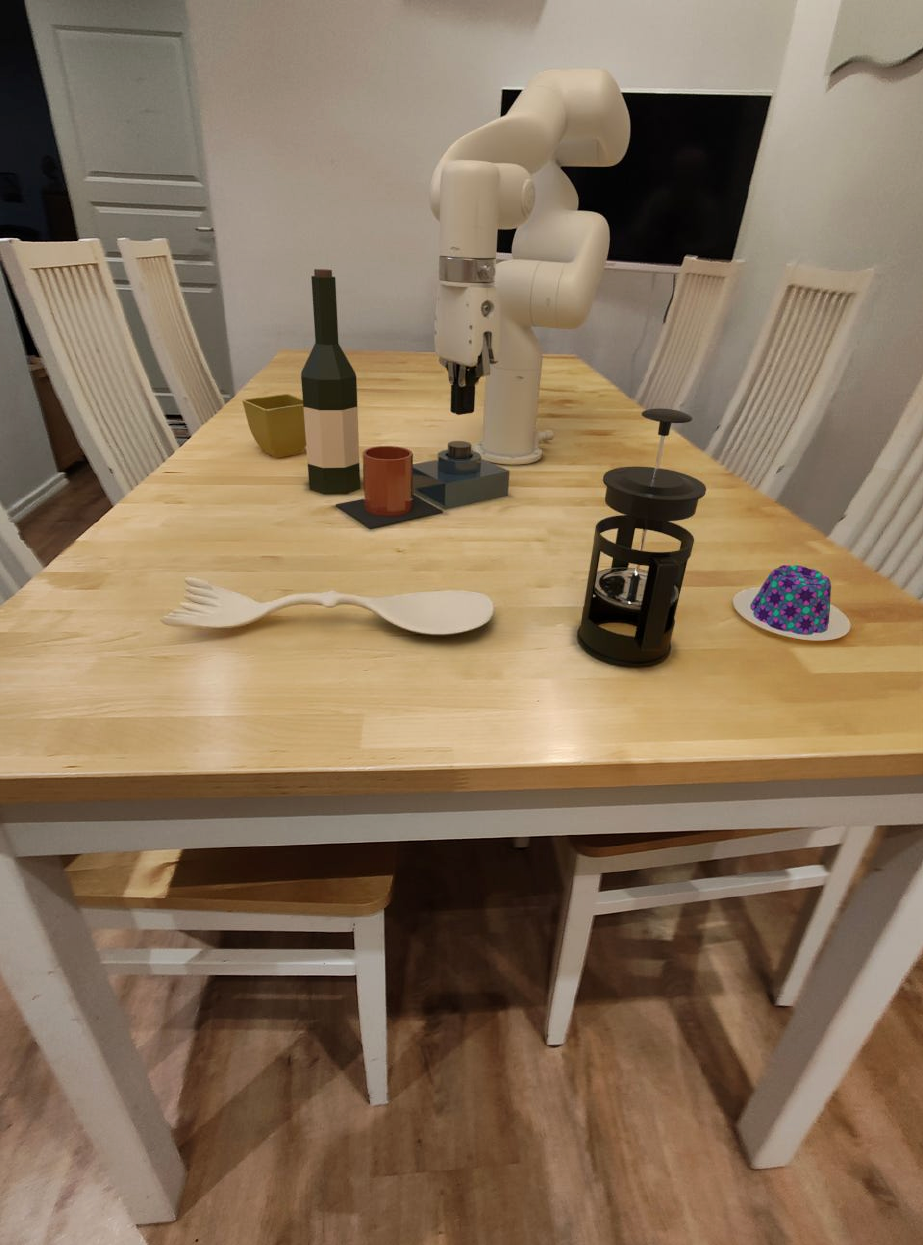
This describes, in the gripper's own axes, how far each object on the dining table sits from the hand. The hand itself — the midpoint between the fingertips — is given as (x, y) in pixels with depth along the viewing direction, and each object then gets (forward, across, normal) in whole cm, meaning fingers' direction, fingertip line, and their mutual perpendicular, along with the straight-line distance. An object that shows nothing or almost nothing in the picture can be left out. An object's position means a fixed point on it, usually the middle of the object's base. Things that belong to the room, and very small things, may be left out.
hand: (462, 412), depth 99 cm
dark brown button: (+7, 0, +1) cm, 7 cm away
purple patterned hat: (+12, -51, -7) cm, 53 cm away
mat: (+12, -1, +14) cm, 18 cm away
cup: (+12, -1, +14) cm, 18 cm away
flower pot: (+12, +32, +16) cm, 37 cm away
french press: (+12, -45, +13) cm, 49 cm away
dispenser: (+12, 0, +1) cm, 12 cm away
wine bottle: (+12, +12, +16) cm, 23 cm away
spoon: (+12, -26, +35) cm, 45 cm away
